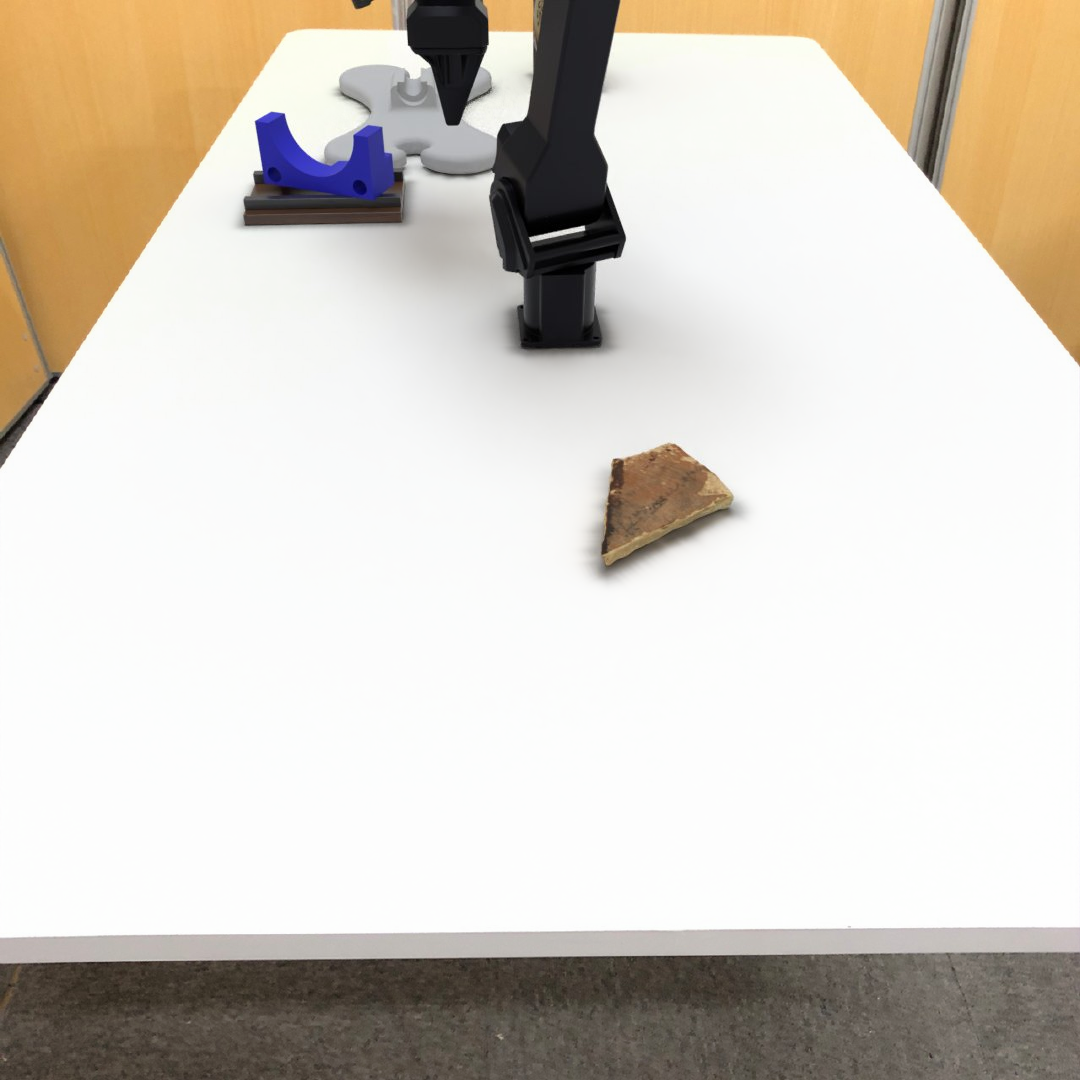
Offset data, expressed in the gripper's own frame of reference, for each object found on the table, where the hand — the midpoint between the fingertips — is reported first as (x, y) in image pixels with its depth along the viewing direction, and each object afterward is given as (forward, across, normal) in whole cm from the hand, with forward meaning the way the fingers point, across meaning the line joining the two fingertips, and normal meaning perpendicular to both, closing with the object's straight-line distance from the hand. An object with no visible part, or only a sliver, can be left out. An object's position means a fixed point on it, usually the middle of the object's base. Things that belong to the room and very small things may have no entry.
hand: (452, 107), depth 92 cm
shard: (+12, +43, +13) cm, 47 cm away
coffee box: (+12, -47, +14) cm, 51 cm away
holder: (+12, -32, -5) cm, 35 cm away
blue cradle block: (+10, -9, -13) cm, 18 cm away
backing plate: (+12, -9, -13) cm, 20 cm away
